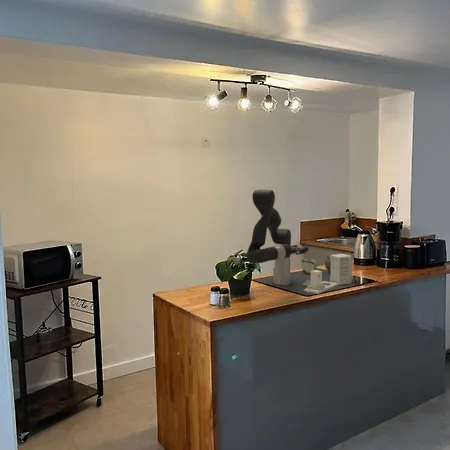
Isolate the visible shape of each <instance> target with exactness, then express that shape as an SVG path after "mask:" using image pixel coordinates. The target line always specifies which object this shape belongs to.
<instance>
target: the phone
mask: <svg viewBox="0 0 450 450" xmlns="http://www.w3.org/2000/svg"><path fill="white" fill-rule="evenodd" d="M309 285H311V279H305V280H304V282H303V283H302V284H301V287H302V288H307V286H309Z"/></svg>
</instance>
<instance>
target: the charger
mask: <svg viewBox="0 0 450 450" xmlns="http://www.w3.org/2000/svg"><path fill="white" fill-rule="evenodd" d="M322 278H323V271H322V270H318V269H316V270H314V271H311V276H310V280H311V287H317V288H319V287H321V286H322V282H323V279H322Z"/></svg>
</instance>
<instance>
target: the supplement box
mask: <svg viewBox="0 0 450 450" xmlns="http://www.w3.org/2000/svg"><path fill="white" fill-rule="evenodd" d="M330 257H331V275H330V279H329V280H330V281H329V282H332V281H333V282H334V283H338V285H337V286H339V285H349V284H352V280H353V275H352V273H353V272H352V271H353V269H352V267H353V262H352V261H353V260H352V259H353V256H352V255H350V254H345V253H339V254H338V253H337V254H330Z"/></svg>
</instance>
